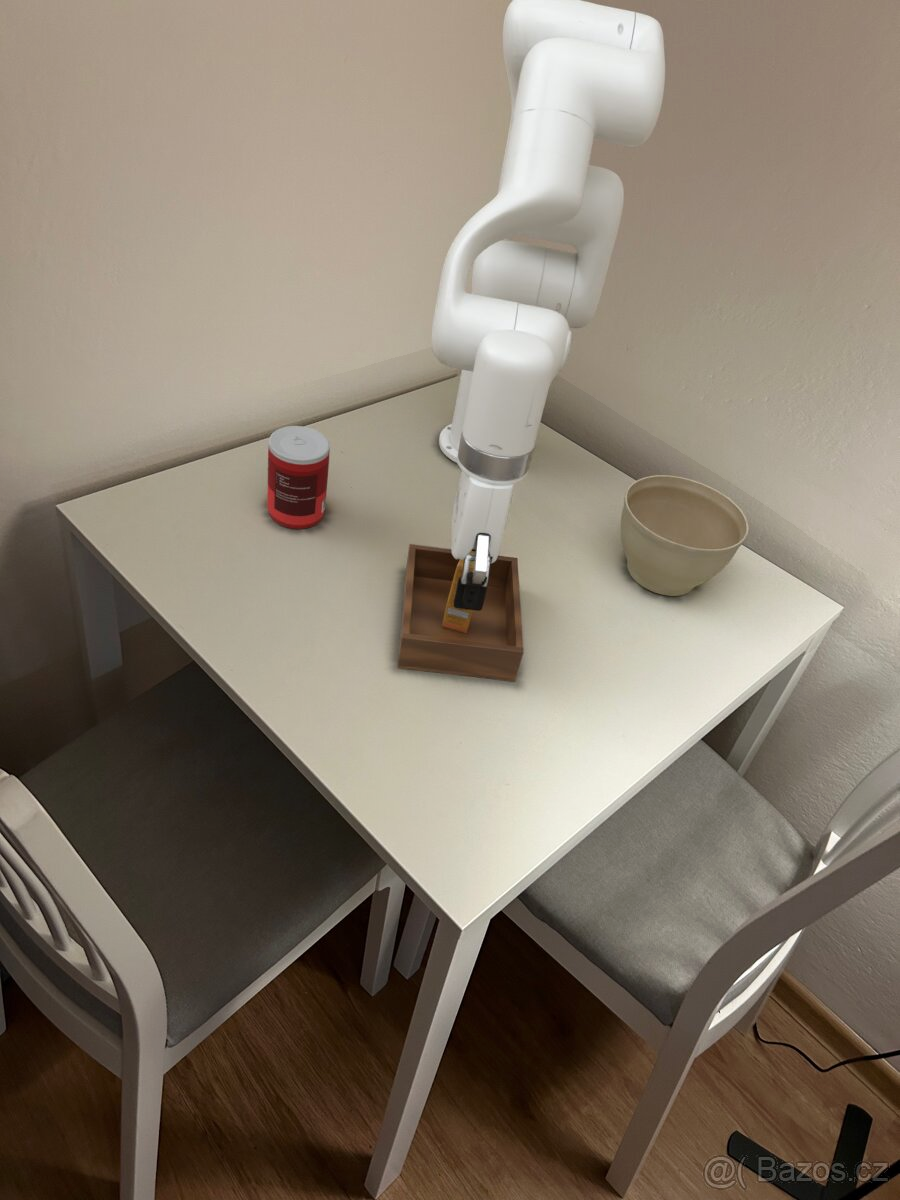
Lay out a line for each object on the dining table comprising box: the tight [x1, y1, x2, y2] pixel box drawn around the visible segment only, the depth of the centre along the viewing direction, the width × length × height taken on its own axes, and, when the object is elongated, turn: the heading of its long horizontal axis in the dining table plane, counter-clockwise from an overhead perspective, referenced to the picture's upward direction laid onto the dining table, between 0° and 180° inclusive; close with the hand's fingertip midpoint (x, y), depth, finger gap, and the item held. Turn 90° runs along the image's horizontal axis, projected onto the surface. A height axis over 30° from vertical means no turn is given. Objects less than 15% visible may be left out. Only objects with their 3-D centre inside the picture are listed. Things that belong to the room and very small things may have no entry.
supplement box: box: [442, 551, 475, 633], centre depth 105 cm, size 3×3×10 cm
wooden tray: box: [396, 543, 524, 682], centre depth 107 cm, size 17×14×5 cm
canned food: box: [266, 425, 331, 530], centre depth 116 cm, size 8×8×11 cm
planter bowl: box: [619, 474, 750, 597], centre depth 119 cm, size 16×16×11 cm
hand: (467, 579), depth 103 cm, fingers open, 9 cm apart
